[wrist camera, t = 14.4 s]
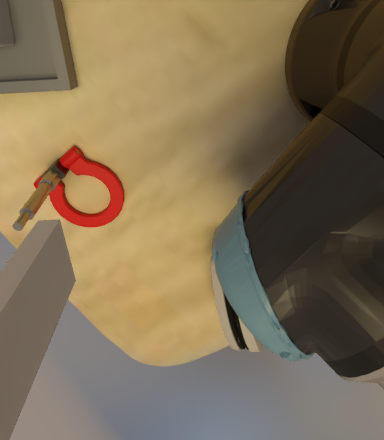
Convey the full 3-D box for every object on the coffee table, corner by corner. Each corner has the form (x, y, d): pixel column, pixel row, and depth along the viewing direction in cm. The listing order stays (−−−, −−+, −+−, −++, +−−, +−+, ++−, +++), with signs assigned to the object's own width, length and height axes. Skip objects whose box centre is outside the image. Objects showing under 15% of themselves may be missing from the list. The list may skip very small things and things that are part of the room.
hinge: (276, 311, 51) (268, 371, 43) (245, 310, 52) (231, 366, 45) (261, 214, 43) (247, 264, 35) (224, 215, 45) (203, 264, 37)
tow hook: (139, 195, 42) (80, 138, 38) (128, 261, 31) (43, 189, 27) (91, 234, 44) (30, 184, 40) (65, 308, 33) (-23, 248, 29)
